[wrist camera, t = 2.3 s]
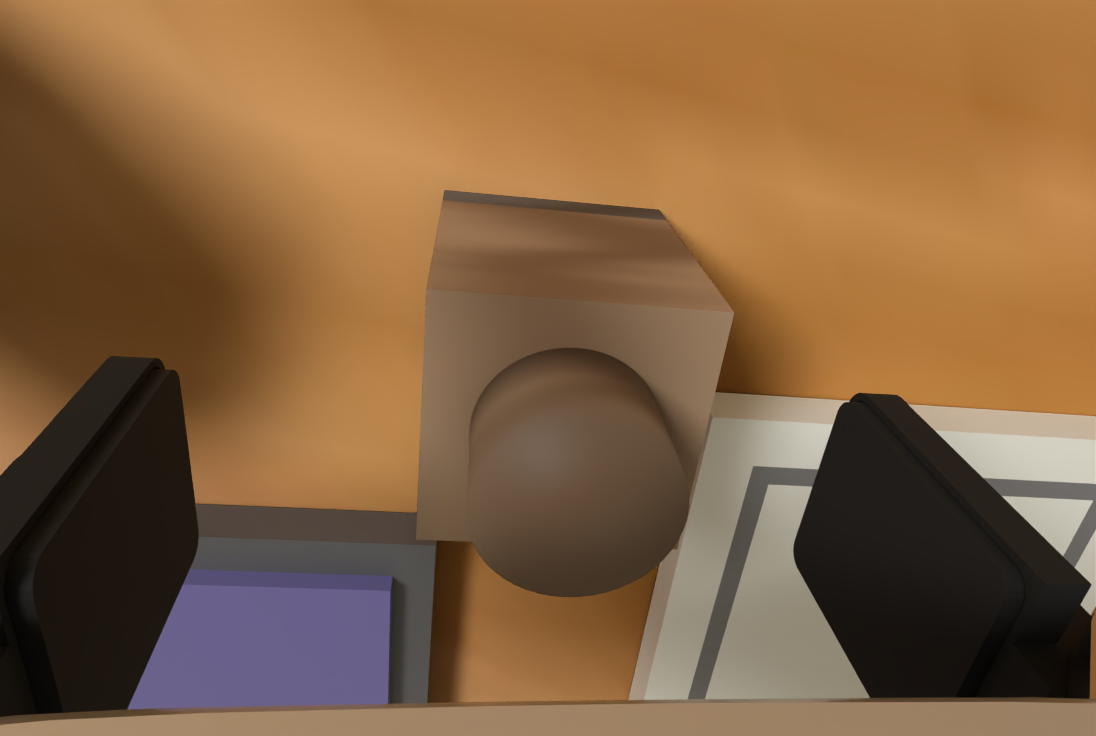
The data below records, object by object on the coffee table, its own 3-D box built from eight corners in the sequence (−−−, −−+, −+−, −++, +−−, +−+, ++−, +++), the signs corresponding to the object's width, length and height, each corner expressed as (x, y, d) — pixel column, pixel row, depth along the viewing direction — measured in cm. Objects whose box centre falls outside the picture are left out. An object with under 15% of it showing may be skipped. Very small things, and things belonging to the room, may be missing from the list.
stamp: (659, 209, 16) (780, 376, 9) (625, 394, 18) (706, 638, 11) (444, 189, 16) (414, 351, 9) (435, 382, 18) (405, 631, 11)
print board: (1151, 420, 20) (1190, 445, 18) (980, 731, 25) (1002, 765, 24) (699, 391, 18) (712, 417, 17) (621, 728, 24) (628, 763, 22)
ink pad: (438, 513, 19) (434, 560, 18) (421, 808, 25) (417, 863, 23) (-76, 492, 18) (-128, 540, 16) (26, 809, 23) (-5, 867, 22)
